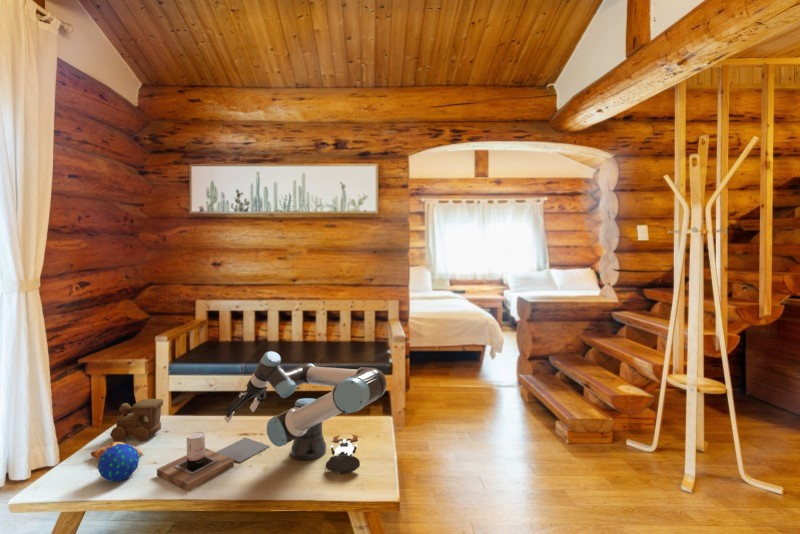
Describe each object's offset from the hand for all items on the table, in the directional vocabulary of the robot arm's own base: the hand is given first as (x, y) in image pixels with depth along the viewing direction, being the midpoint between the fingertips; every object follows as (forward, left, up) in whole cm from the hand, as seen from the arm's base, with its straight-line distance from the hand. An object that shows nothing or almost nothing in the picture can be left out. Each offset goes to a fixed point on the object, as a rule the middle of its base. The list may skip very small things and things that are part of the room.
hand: (239, 414), depth 182 cm
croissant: (+37, +32, -16) cm, 52 cm away
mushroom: (+21, +40, -16) cm, 47 cm away
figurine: (-49, -13, -16) cm, 53 cm away
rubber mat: (-3, +1, -15) cm, 15 cm away
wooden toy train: (+50, +18, -16) cm, 55 cm away
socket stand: (-1, +22, -15) cm, 26 cm away
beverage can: (-1, +22, -15) cm, 27 cm away
